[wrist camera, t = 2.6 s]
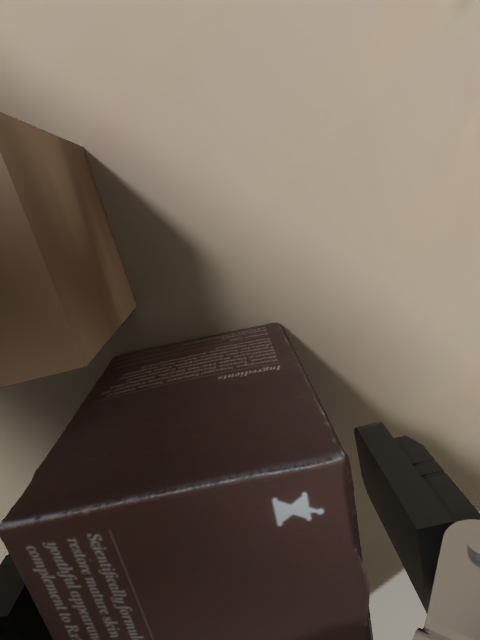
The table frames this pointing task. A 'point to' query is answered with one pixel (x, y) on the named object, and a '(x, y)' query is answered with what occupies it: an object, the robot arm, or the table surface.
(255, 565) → the box
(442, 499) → the robot arm
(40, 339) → the walnut block
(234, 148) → the table surface
